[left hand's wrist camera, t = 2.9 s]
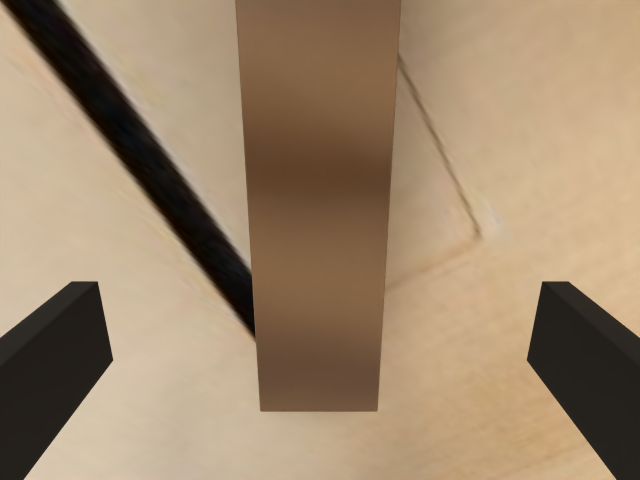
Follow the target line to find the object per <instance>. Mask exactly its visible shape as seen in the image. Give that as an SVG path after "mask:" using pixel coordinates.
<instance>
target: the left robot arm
mask: <svg viewBox="0 0 640 480" xmlns="http://www.w3.org/2000/svg"><path fill="white" fill-rule="evenodd" d="M112 361H113V357H112V352H111V347H110V341H109V336H108V331H107V326H106V321H105V316H104V311H103V306H102V301H101V296H100V291H99V286H98V282H70V283H69V284H68V285H67V286H65V287H64V288H63V289H62V290H60V291H59V292H58V293H57V294H55V295H54V296H53V297H51V298H50V299H49V300H48V301H46V302H45V303H44V304H43V305H41V306H40V307H39V308H38V309H36V310H35V311H34V312H33V313H31V314H30V315H29V316H27V317H26V318H25V319H24V320H22V321H21V322H20V323H19V324H17V325H16V326H15V327H14V328H12V329H11V330H10V331H8V332H7V333H6V334H5V335H3V336H2V337H1V338H0V480H24V478H25V477H26V476H27V474H28V473H29V472H30V470H31V469H32V468H33V466H34V465H35V464H36V462H37V461H38V460H39V458H40V457H41V456H42V454H43V453H44V452H45V450H46V449H47V448H48V446H49V445H50V444H51V442H52V441H53V440H54V438H55V437H56V436H57V434H58V433H59V432H60V430H61V429H62V428H63V426H64V425H65V424H66V422H67V421H68V420H69V418H70V417H71V416H72V414H73V413H74V412H75V410H76V409H77V408H78V406H79V405H80V404H81V402H82V401H83V400H84V398H85V397H86V396H87V394H88V393H89V392H90V390H91V389H92V388H93V386H94V385H95V384H96V382H97V381H98V380H99V378H100V377H101V376H102V374H103V373H104V372H105V371H106V369H107V368H108V367H109V365H110V364H111V363H112ZM527 361H528V363H529V364H530V365H531V367H532V368H533V369H534V371H535V372H536V373H537V374H538V376H539V377H540V378H541V380H542V381H543V382H544V384H545V385H546V386H547V388H548V389H549V390H550V392H551V393H552V394H553V396H554V397H555V398H556V400H557V401H558V402H559V404H560V405H561V406H562V408H563V409H564V410H565V412H566V413H567V414H568V416H569V417H570V418H571V420H572V421H573V422H574V424H575V425H576V426H577V428H578V429H579V430H580V432H581V433H582V434H583V436H584V437H585V438H586V440H587V441H588V442H589V444H590V445H591V446H592V448H593V449H594V450H595V452H596V453H597V454H598V456H599V457H600V458H601V460H602V461H603V462H604V464H605V465H606V466H607V468H608V469H609V470H610V472H611V473H612V474H613V476H614V477H615V478H616V480H640V338H639V337H638V336H637V335H635V334H634V333H633V332H632V331H630V330H629V329H628V328H626V327H625V326H624V325H623V324H621V323H620V322H619V321H618V320H616V319H615V318H614V317H613V316H611V315H610V314H609V313H607V312H606V311H605V310H604V309H602V308H601V307H600V306H599V305H597V304H596V303H595V302H594V301H592V300H591V299H590V298H589V297H587V296H586V295H585V294H583V293H582V292H581V291H580V290H578V289H577V288H576V287H575V286H573V285H572V284H571V283H570V282H542V286H541V291H540V296H539V301H538V306H537V311H536V316H535V321H534V326H533V331H532V336H531V341H530V347H529V352H528V357H527Z"/></svg>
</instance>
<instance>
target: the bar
mask: <svg viewBox="0 0 640 480" xmlns="http://www.w3.org/2000/svg"><path fill="white" fill-rule="evenodd" d="M235 1H236V17H237V34H238V51H239V67H240V84H241V100H242V117H243V133H244V150H245V167H246V183H247V200H248V216H249V233H250V249H251V266H252V283H253V299H254V316H255V332H256V349H257V365H258V382H259V399H260V411H261V412H376V411H377V410H378V393H379V376H380V359H381V341H382V324H383V306H384V289H385V272H386V254H387V237H388V219H389V202H390V185H391V167H392V150H393V132H394V115H395V98H396V80H397V63H398V45H399V28H400V11H401V0H235Z"/></svg>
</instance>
